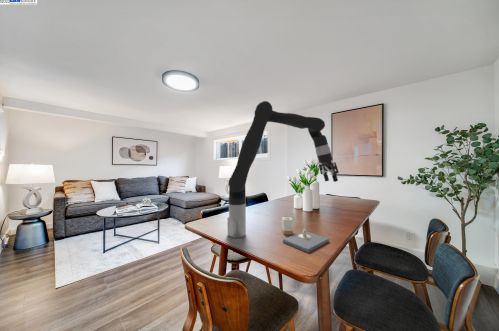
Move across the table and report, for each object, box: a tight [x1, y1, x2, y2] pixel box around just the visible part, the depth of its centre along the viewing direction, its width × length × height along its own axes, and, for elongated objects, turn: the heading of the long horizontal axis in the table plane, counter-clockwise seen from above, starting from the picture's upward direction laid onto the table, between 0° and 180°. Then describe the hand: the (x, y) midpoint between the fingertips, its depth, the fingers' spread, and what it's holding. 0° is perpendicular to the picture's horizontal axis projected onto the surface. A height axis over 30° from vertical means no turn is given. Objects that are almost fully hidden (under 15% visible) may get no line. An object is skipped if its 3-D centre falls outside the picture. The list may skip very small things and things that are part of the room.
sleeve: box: [281, 216, 294, 235], centre depth 102 cm, size 5×5×8 cm
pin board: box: [282, 228, 330, 253], centre depth 89 cm, size 18×14×5 cm
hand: (331, 181), depth 103 cm, fingers open, 8 cm apart
